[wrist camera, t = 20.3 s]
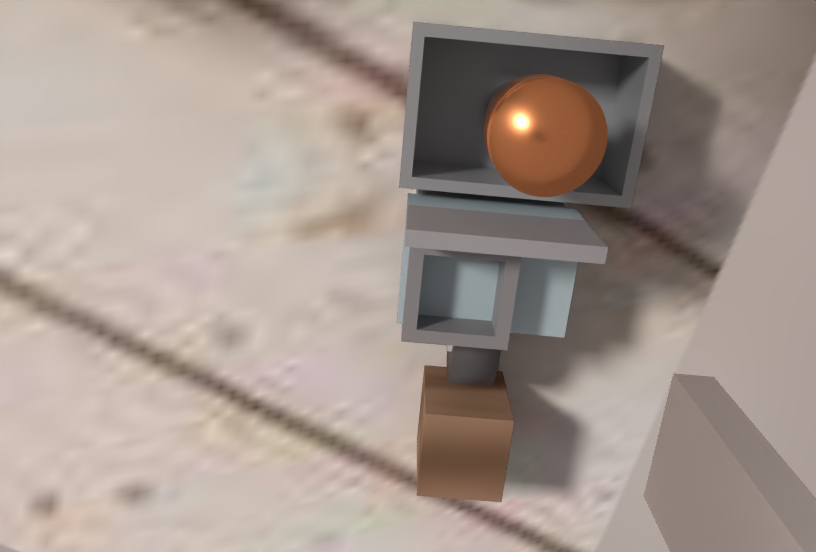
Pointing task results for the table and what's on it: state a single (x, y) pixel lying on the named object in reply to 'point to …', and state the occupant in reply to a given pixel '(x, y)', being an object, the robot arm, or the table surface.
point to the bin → (507, 61)
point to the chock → (463, 438)
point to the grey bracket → (488, 274)
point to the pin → (544, 134)
